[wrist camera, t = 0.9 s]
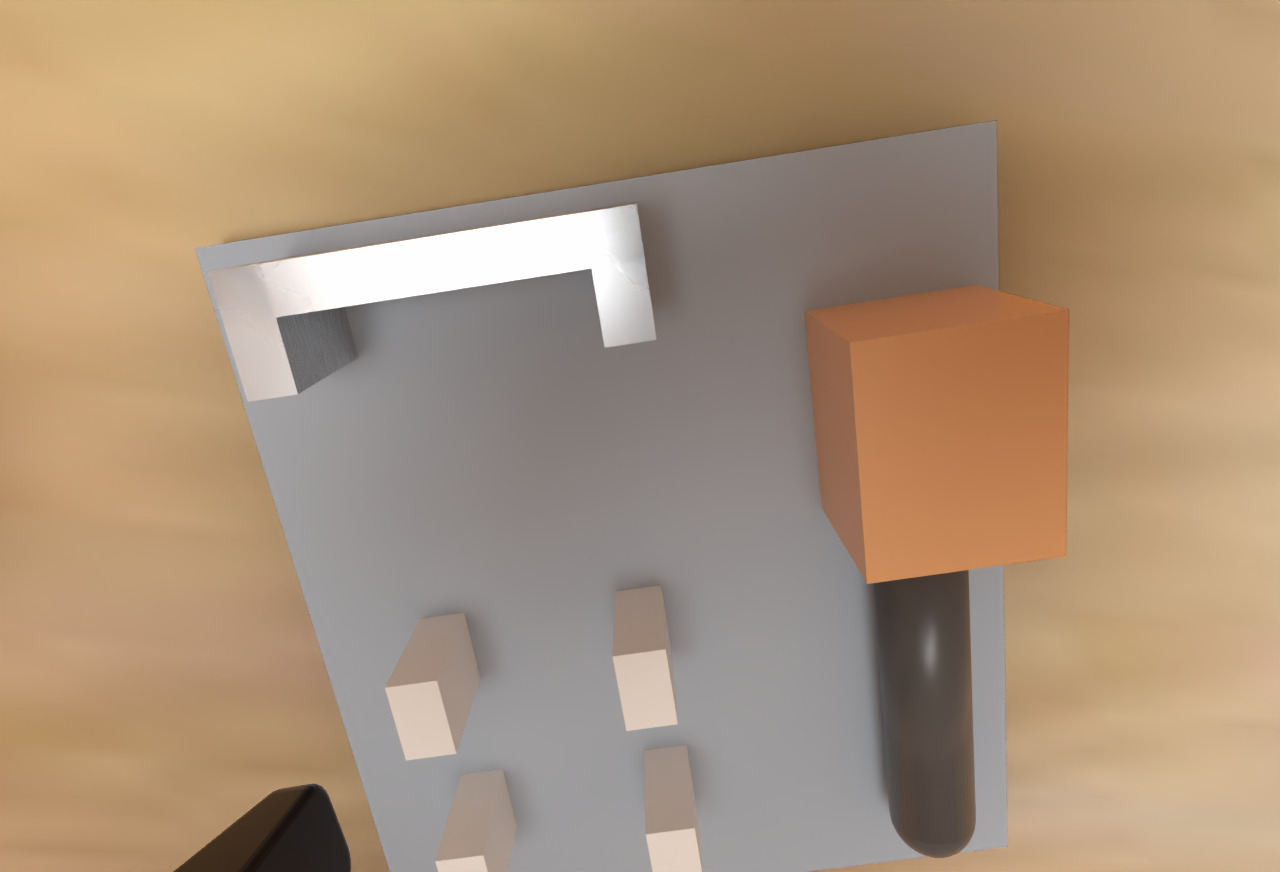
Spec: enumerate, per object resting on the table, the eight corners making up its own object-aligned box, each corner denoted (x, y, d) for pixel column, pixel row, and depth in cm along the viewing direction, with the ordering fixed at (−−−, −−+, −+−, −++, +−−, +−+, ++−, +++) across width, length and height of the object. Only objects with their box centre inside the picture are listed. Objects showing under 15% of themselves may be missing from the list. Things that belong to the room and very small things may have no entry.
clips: (696, 802, 22) (705, 892, 20) (475, 831, 23) (453, 923, 20) (660, 585, 20) (665, 649, 18) (419, 618, 21) (384, 687, 18)
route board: (989, 815, 24) (1007, 846, 23) (416, 888, 25) (405, 922, 24) (973, 124, 18) (996, 120, 17) (221, 244, 19) (194, 248, 18)
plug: (989, 804, 23) (1062, 929, 19) (850, 822, 23) (893, 950, 19) (977, 284, 18) (1069, 309, 14) (804, 310, 18) (849, 343, 14)
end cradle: (652, 312, 18) (656, 340, 15) (317, 363, 19) (247, 401, 15) (635, 201, 18) (636, 204, 14) (287, 256, 18) (207, 272, 14)
